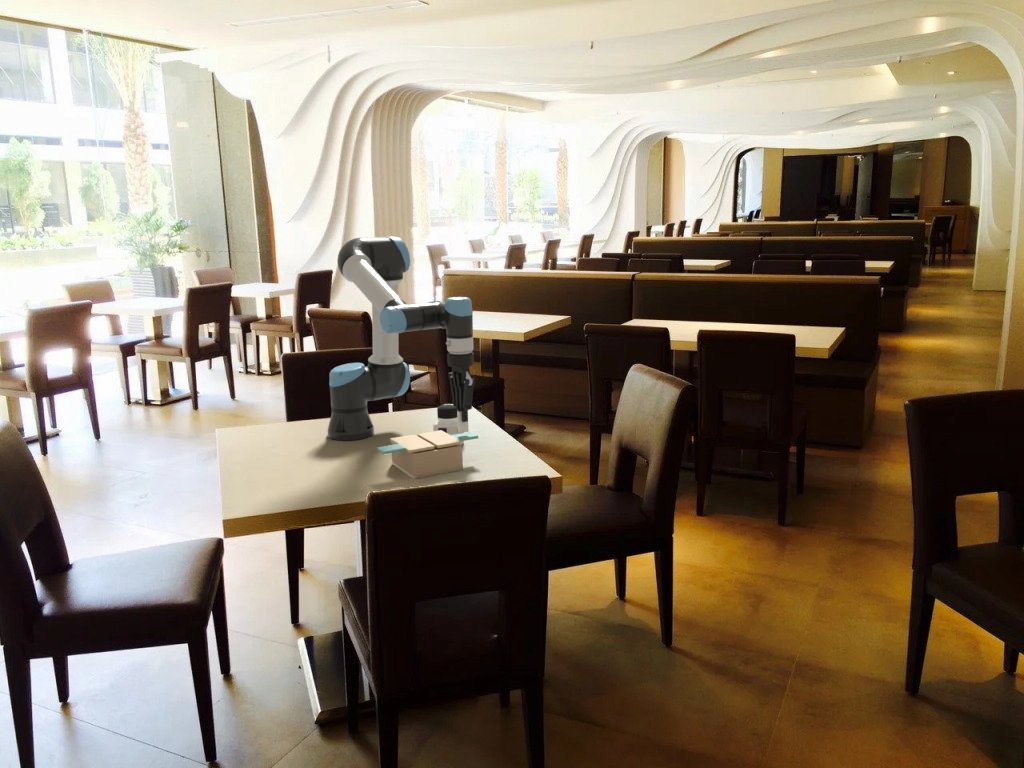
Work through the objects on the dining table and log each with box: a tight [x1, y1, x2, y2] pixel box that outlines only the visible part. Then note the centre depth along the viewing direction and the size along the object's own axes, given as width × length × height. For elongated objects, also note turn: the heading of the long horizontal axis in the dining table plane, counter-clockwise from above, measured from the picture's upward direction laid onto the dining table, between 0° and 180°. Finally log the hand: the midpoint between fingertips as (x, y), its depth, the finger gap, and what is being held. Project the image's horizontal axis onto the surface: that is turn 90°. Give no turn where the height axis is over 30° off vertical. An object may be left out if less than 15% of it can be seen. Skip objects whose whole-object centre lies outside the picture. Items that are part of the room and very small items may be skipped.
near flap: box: [376, 434, 435, 456], centre depth 232 cm, size 14×14×1 cm
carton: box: [390, 441, 464, 480], centre depth 236 cm, size 17×15×7 cm
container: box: [432, 403, 465, 446], centre depth 257 cm, size 8×8×13 cm
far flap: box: [417, 430, 479, 448], centre depth 239 cm, size 14×14×1 cm
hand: (463, 431), depth 238 cm, fingers closed
